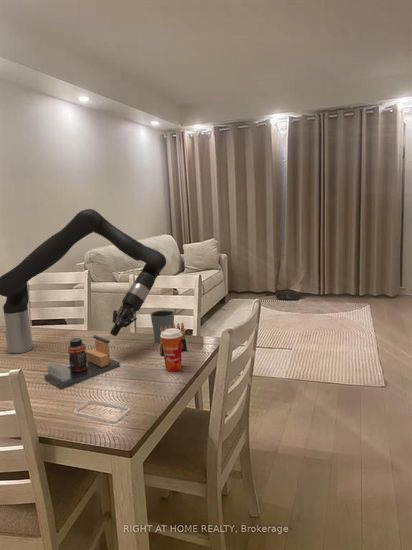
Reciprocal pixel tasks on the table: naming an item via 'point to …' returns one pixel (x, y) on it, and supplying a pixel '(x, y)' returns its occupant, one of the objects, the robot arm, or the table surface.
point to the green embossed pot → (161, 322)
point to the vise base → (75, 373)
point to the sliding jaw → (99, 352)
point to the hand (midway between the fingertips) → (112, 334)
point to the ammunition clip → (183, 340)
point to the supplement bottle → (77, 355)
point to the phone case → (101, 417)
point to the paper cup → (172, 349)
